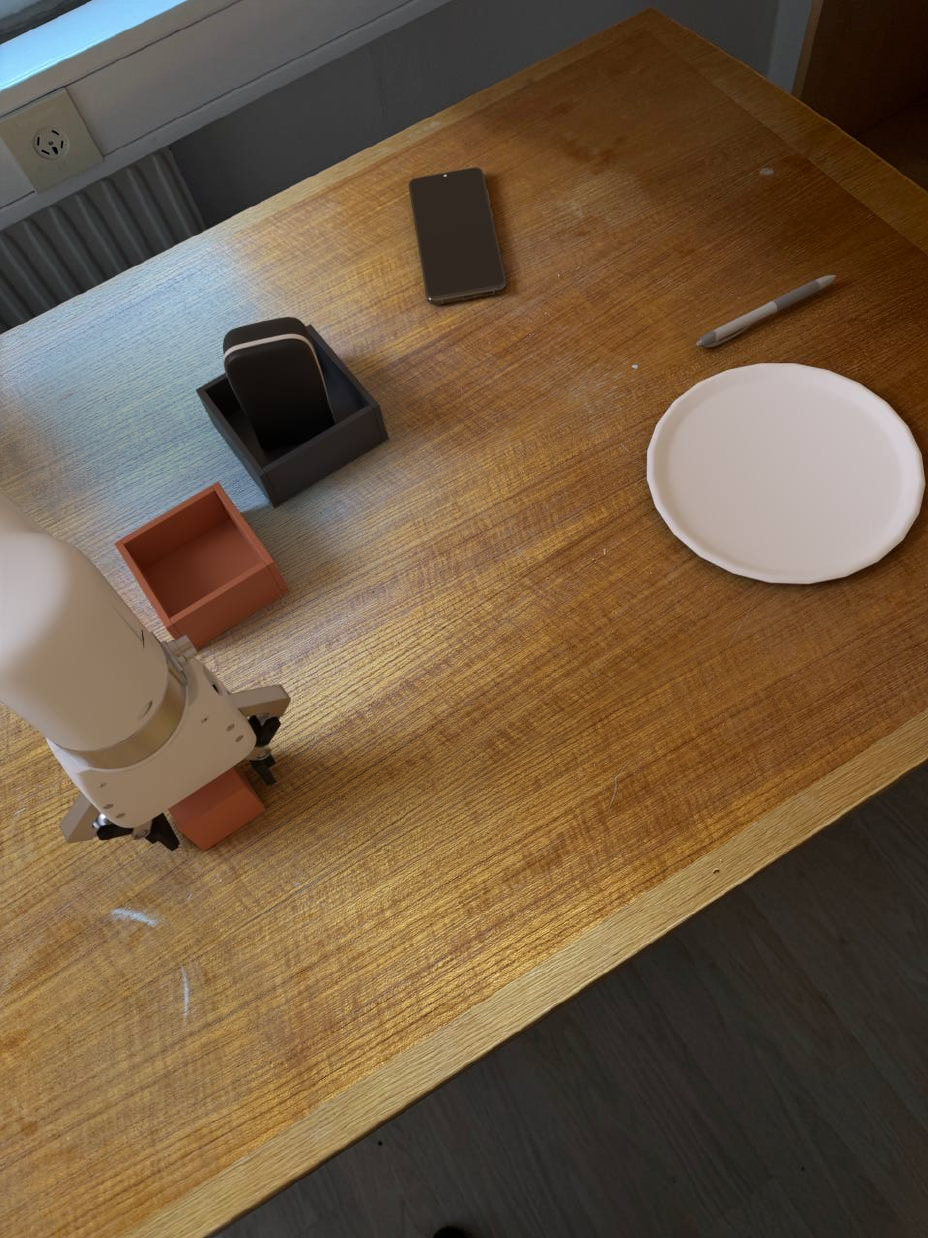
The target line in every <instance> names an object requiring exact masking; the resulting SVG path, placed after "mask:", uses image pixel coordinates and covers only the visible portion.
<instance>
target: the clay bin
mask: <svg viewBox="0 0 928 1238" xmlns="http://www.w3.org/2000/svg"><path fill="white" fill-rule="evenodd" d="M113 545H114V547H115V548H116V549H117V551H118V553H119V554H120V556H121V558H122V559H123V561H124V563H125V564H126V567H128V569H129V571H130V572H131V574H132V576H133V577H134V579H135V580H136V582H137V584H138V586H139V587H140V589H141V591H142V592H143V594H144V596H145V597H146V599H147V600H148V602H149V604H150V606H151V607H152V608H153V610H154V612H155V614H156V615H157V617H158V619H159V620H160V621H161V623H162V625H163V627H164V628H165V630H166V631H167V633H169V635H170V636H171V637H172V638H173V639H174V641H176V640H178V639H179V638H181V637H182V636H184V635H186V634H187V636H188V637H189V638H190V640H191V641H192V643H193V644H194V646H195V647H196V649H197V650H198V649H199V648H200V647H202V646H203V645H205V644H207V643H208V642H210V641H213V639H216V638H217V637H219V636H220V635H221V634H223V633H225V632H226V631H228V630H230V629H231V628H233V627H234V626H236V625H237V624H239V623H241V622H242V621H244V620H245V619H247V618H249V617H250V616H252V615H254V614H255V613H256V612H258V611H259V610H261V609H263V608H264V607H266V606H268V605H270V604H271V603H273V602H274V601H276V600H278V599H279V598H281V597H282V596H283V595H285V594H287V593H289V592H290V589H289V587H288V584H287V583H286V581H285V579H284V578H283V574H282V573H281V571H280V569H279V567H278V565H277V564H276V562H275V560H274V558H273V557H272V556H271V554H270V553H269V551H268V550H267V549H266V547H265V546H264V544H263V543H262V542H261V540H260V539H259V537H258V535H256V533H255V531H254V530H253V529H252V528H251V526H250V524H249V523H248V522H247V520H246V519H245V518H244V516H243V514H242V513H241V512H240V511H239V509H238V507H237V506H236V504H235V503H234V502H233V501H232V499H231V497H230V496H229V495H228V493H227V492H226V490H225V489H224V488H223V486H222V484H221V483H220V482H219V481H216V482H215V483H213V484H211V485H210V486H208V487H206V488H204V489H202V490H201V491H200V492H198V493H196V494H194V495H192V496H191V497H189V498H187V499H186V500H184V501H182V502H181V503H179V504H178V505H176V506H174V507H172V508H171V509H169V510H167V511H165V512H164V513H162V514H161V515H159V516H157V517H155V518H154V519H152V520H150V521H149V522H147V523H145V524H144V525H142V526H140V527H138V528H137V529H135V530H134V531H132V532H130V533H128V534H126V535H125V536H123V537H121V539H118V540H117V541H115V542H114V543H113Z"/></svg>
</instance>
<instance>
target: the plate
mask: <svg viewBox="0 0 928 1238" xmlns="http://www.w3.org/2000/svg"><path fill="white" fill-rule="evenodd" d="M646 452H647V453H646V454H647V456H646V482H647V485H648V489H649V492H650V495H651V499H652V502H653V504H654V507H655V510H656V511H657V513H658V514H659V516H660V517H661V519H662V520H663V521H664V523H665V525H666V526H667V528H668V529H669V530H670V532H671V534H672V535H673V536H674V537H675V538H676V539H678V541H680V542H681V543H682V544H684V545H685V546H686V547H687V548H688V549H689V550H690V551H692V552H693V554H695V555H696V556H697V557H698V558H700V559H702V560H704V561H706V562H707V563H709V564H712V565H714V566H716V567H718V568H720V569H721V570H723V571H725V572H727V573H729V574H731V575H733V576H738V577H741V578H744V579H745V578H746V579H750V580H754V581H756V582H757V581H758V582H762V583H764V584H770V585H801V586H802V585H803V586H810V585H814V584H820V583H825V582H830V581H834V580H835V581H836V580H840V579H845V578H847V577H850V576H851V575H854V574H856V573H858V572H860V571H863V570H865V569H866V568H868V567H870V566H873V565H875V564H877V563H879V562H880V561H881V560H882V559H883V558H884V557H886V556H887V555H888V554H889V553H891V551H892V550H893V549H894V548H897V546H898V545H899V544H901V543H902V542H903V541H904V539H905V537H906V536H907V534H908V532H909V531H910V529H911V527H913V524H914V522H915V521H916V519H917V518H918V516H919V514H920V513H921V512H920V511H921V507H922V502H923V497H924V492H925V488H926V477H925V471H924V462H923V456H922V452H921V450H920V448H919V446H918V443H917V442H916V439H915V437H914V435H913V434H912V431H911V429H910V427H909V425H907V423H906V422H905V421H904V420H903V419H902V418H901V416H900V415H899V414H898V413H897V412H896V411H895V409H894V408H893V407H892V406H891V404H889V403H888V402H887V401H886V400H885V399H883V398H882V397H880V396H879V395H877V394H876V393H874V392H873V391H871V390H870V389H869V388H867V387H866V386H864V385H863V384H862V383H860V382H858V381H855V380H853V379H850V378H848V377H845V376H844V375H842V374H838V373H836V372H834V371H831V370H829V369H826V368H825V369H824V368H821V367H820V368H819V367H814V366H811V365H805V364H801V363H792V362H790V363H788V362H787V363H783V362H782V363H781V362H780V363H777V362H776V363H775V362H773V363H772V362H770V363H768V362H766V363H765V362H763V363H762V362H760V363H756V364H750V365H745V366H740V367H735V368H730V369H727V370H724V371H722V372H720V373H717V374H715V375H713V376H710V377H707V378H706V379H703V380H701V381H699V382H697V383H696V384H694V385H693V386H692V387H690V388H689V389H688V390H687V391H685V392H684V393H683V394H682V395H680V396H679V397H677V398H676V399H675V400H674V401H673V402H672V403H671V404H670V406H669V407H668V408H667V410H666V412H664V413H663V415H662V416H661V418H660V419H659V421H658V422H657V423H656V426H655V428H654V431H653V434H652V436H651V439H650V442H649V445H648V448H647V450H646Z"/></svg>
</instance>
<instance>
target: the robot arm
mask: <svg viewBox="0 0 928 1238" xmlns="http://www.w3.org/2000/svg"><path fill="white" fill-rule="evenodd" d="M199 655H200V652H199V651H198V648H197V649H196V647H195V646H194V644H193V643H192V641H191V640H190V638H189V637H188V636H187V634H186V635H184V636H182V637H181V638H179V639H178V640H176V641H175V640H174V638H173V639H171V640H170V641H167V640H165V639H164V640H162V641H160V640H159V638H158V637H157V636H156V634H155V633H154V632H153V631H149V630H148V628H147V627H146V626H145V625H144V623H143V621H141V620H140V618H139V617H138V616H137V614H136V613H135V612H134V611H133V610H132V608H131V607H130V606H129V605H128V603H126V601H125V600H124V599H123V598H122V596H121V595H120V594H119V592H118V591H117V590H116V588H114V586H112V584H111V583H110V582H109V580H108V579H107V578H106V577H105V576H104V574H103V573H102V572H101V570H100V569H99V568H98V566H97V565H95V563H94V562H93V561H92V560H91V559H90V558H89V557H88V555H87V554H85V553H84V552H83V551H82V550H81V549H80V548H78V547H77V546H76V545H74V544H73V543H71V542H69V541H67V540H66V539H63V538H60V537H58V536H55V535H53V534H52V533H51V532H49V530H47V529H46V528H45V527H43V526H42V525H41V524H40V523H38V522H37V521H36V520H34V519H33V518H32V517H31V516H29V514H27V513H26V512H25V511H24V510H22V509H21V508H20V506H19V505H18V503H17V502H16V500H15V499H14V498H13V497H12V496H11V494H10V493H9V492H8V491H6V489H5V488H4V487H2V485H0V702H1V703H2V704H3V705H4V706H6V707H7V708H8V709H10V710H11V711H12V712H13V713H15V714H16V715H17V716H18V717H20V719H22V720H23V721H25V722H26V723H27V724H29V725H30V726H31V727H32V728H33V729H35V730H36V731H37V732H38V733H39V734H41V735H42V736H44V737H45V740H46V743H47V746H48V747H49V749H50V750H51V752H52V754H53V755H54V757H55V759H56V760H57V761H58V763H59V764H60V766H61V768H62V769H63V770H64V772H65V774H66V775H67V776H68V777H69V778H70V780H71V781H72V782H73V784H74V785H75V786H76V788H78V790H79V791H80V792H79V794H78V796H77V797H76V799H75V800H74V802H73V803H72V805H71V806H70V808H69V810H68V811H67V813H66V814H65V816H64V817H63V819H62V820H61V822H60V824H59V829H60V831H61V833H62V836H63V837H64V839H65V841H66V843H67V844H76V843H82V842H88V841H93V840H94V838H98V840H99V841H102V842H103V841H110V840H112V839H117V838H121V837H125V836H126V837H127V836H131V838H132V840H133V841H139V840H140V841H141V840H143V839H145V840H146V841H148V843H150V844H151V845H154V844H157V843H158V842H159V843H160V844H161V845H163V846H164V847H165V848H167V850H169V851H170V852H174V851H175V850H177V849H179V848H180V845H181V841H180V840H179V838H178V836H177V835H176V832H175V831H174V829H173V827H172V825H171V824H170V822H169V820H168V818H167V816H166V814H165V813H164V812H166V811H168V810H167V809H169V808H170V807H172V806H174V805H175V804H177V803H178V802H180V801H181V800H183V799H184V798H186V797H187V796H189V795H191V794H192V793H194V792H195V791H197V790H198V789H200V788H201V787H203V786H204V785H206V784H207V783H209V782H210V781H212V780H213V779H215V778H216V777H218V776H219V775H221V774H222V773H224V772H225V771H227V770H228V769H230V768H231V767H233V766H234V765H236V764H237V763H238V764H239V763H240V762H242V761H248V763H249V765H250V767H251V768H252V769H253V771H254V772H255V773H256V774H257V776H258V777H259V778H260V779H261V781H262V782H263V783H264V784H265V785H266V787H269V786H270V787H272V786H274V785H275V784H277V783H278V780H277V779H276V777H275V776H274V774H273V771H271V769H270V768H271V767H273V766H274V765H276V764H277V763H278V762H277V761H276V759H275V757H274V756H273V754H272V748H271V746H270V743H271V742H272V740H273V738H274V737H275V736H276V734H277V732H278V731H279V729H280V727H281V725H282V722H281V721H280V718H282V717H283V716H284V715H285V713H286V711H287V709H288V707H289V705H290V704H291V701H292V698H291V697H290V695H289V693H288V692H287V690H286V689H285V687H284V686H283V684H281V683H277V684H273V685H267V686H261V687H257V688H252V689H247V690H242V691H237V692H232V693H231V691H230V690H229V689H228V687H227V686H226V685H224V683H223V682H222V681H221V680H220V679H219V678H218V677H217V676H216V674H215V673H213V672H212V671H211V670H210V668H208V666H206V665H205V664H204V663H202V662H201V661H200V660H199V659H198V658H196V657H197V656H199Z"/></svg>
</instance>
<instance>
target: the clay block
mask: <svg viewBox="0 0 928 1238" xmlns="http://www.w3.org/2000/svg"><path fill="white" fill-rule="evenodd" d="M266 810H267V809H266V807H265V805H264V804H263V802H262V801H261V799H260V797H259V795H258V794H257V793H256V790H255V789H254V788H253V786H252V785H251V783H250V781H249V779H248V778H247V776H246V774H245V772H244V771H243V769H242V768H241V766H240V764H239V763H237V764H236V765H234V766H233V767H231V768H230V769H228V770H227V771H225V772H224V773H222V774H221V775H219V776H218V777H216V778H215V779H213V780H212V781H210V782H209V783H207V784H206V785H204V786H203V787H201V788H200V789H198V790H197V791H195V792H194V793H192V794H191V795H189V796H187V797H186V798H184V799H183V800H181V801H180V802H178V803H177V804H175V805H174V806H172V807H170V808H169V809H167V810H166V811H168V813H169V815H170V817H171V819H172V820H173V822H174V824H175V826H176V828H177V830H178V832H180V833H181V834H183V835H184V836H185V837H186V838H187V839H189V840H190V841H191V842H192V843H193V844H194V845H196V846H197V847H198V848H200V850H202V851H203V852H205V851H208V849H211V848H212V847H213V846H215V845H216V844H218V843H219V842H221V841H223V840H224V839H225V838H226V837H228V836H230V835H231V834H233V833H234V832H236V831H238V829H240V828H242V827H243V826H245V825H246V824H247V823H249V822H251V821H253V820H254V819H256V818H257V817H258V816H259V815H261V814H263V813H264V812H266Z"/></svg>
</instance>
